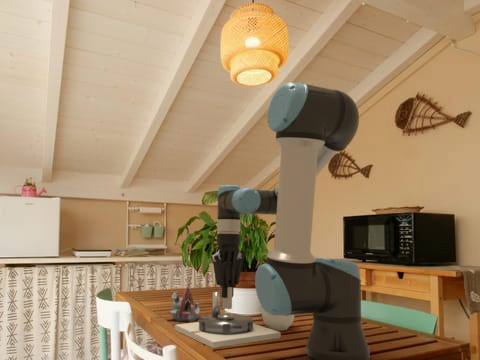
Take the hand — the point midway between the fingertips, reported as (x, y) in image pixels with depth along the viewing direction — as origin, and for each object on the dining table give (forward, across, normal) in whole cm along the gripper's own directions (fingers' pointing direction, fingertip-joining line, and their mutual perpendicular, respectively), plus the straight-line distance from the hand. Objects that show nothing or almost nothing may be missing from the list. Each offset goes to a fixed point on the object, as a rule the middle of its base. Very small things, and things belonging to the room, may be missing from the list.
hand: (227, 308), depth 130 cm
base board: (+6, +5, +6) cm, 10 cm away
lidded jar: (+6, -12, +11) cm, 17 cm away
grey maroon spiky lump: (+6, +2, -19) cm, 20 cm away
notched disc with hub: (+4, +5, +6) cm, 9 cm away
